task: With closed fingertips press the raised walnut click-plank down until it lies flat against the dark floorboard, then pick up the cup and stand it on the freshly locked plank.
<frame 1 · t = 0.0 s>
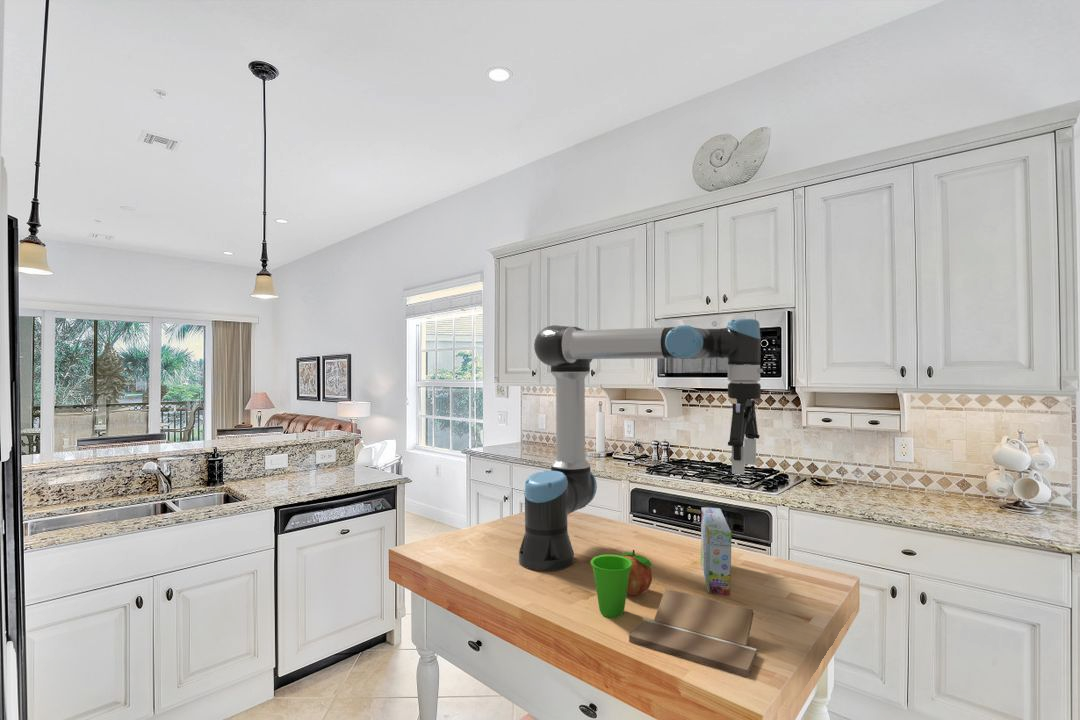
hand: (744, 468, 131), 28 cm above the table, fingers open, 13 cm apart
plank: (702, 617, 108), point 3 cm above the table, hinge at 30.0°
floorboard: (691, 648, 102), on the table
snack box: (714, 578, 135), on the table
cup: (611, 613, 116), on the table
fruit: (633, 593, 126), on the table
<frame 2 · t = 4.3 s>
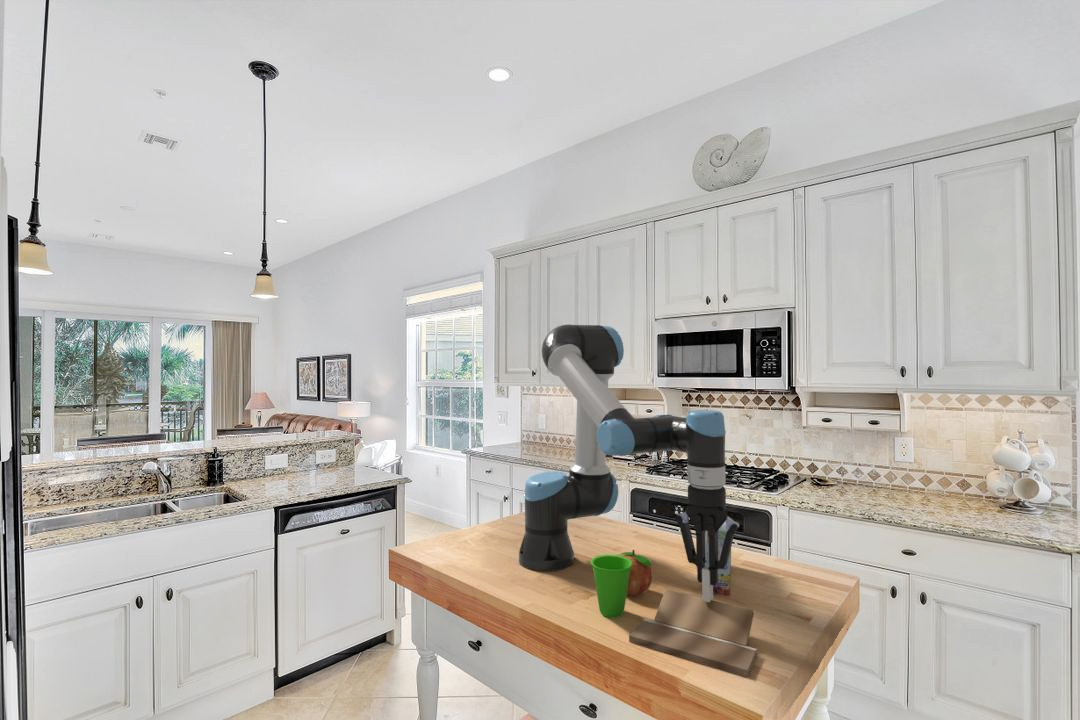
hand: (707, 598, 111), 5 cm above the table, fingers closed
plank: (702, 617, 108), point 3 cm above the table, hinge at 29.2°, touching gripper
everything else where it was.
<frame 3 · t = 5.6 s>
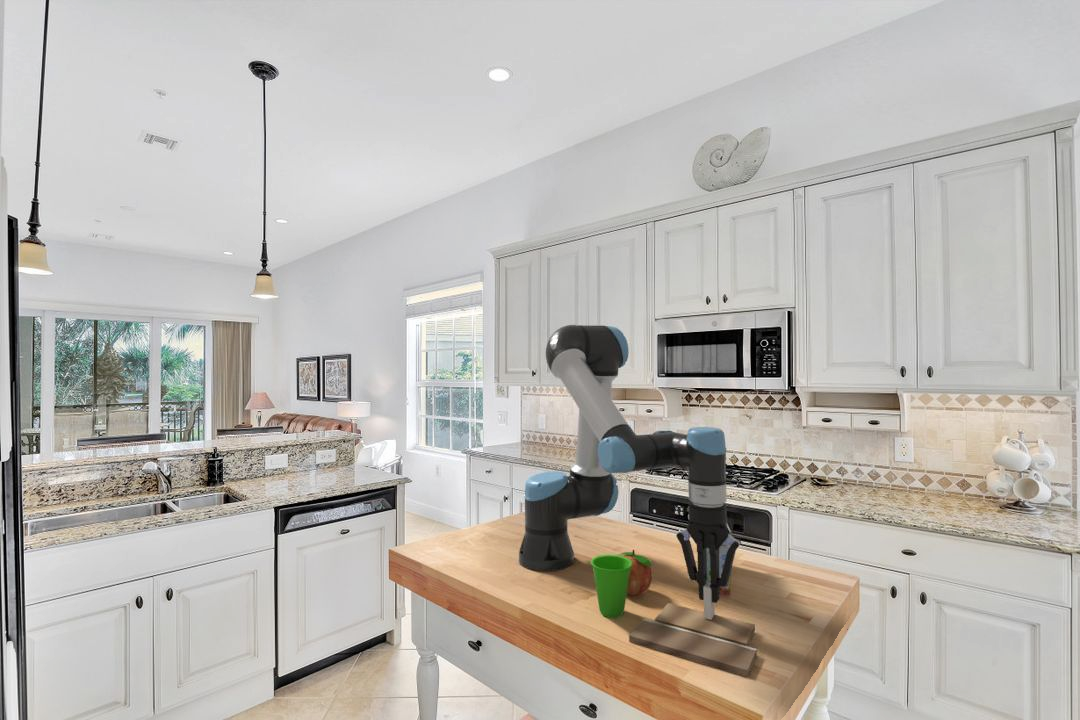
hand: (709, 616, 111), 2 cm above the table, fingers closed
plank: (704, 624, 109), point 1 cm above the table, hinge at 1.7°, touching gripper
everything else where it was.
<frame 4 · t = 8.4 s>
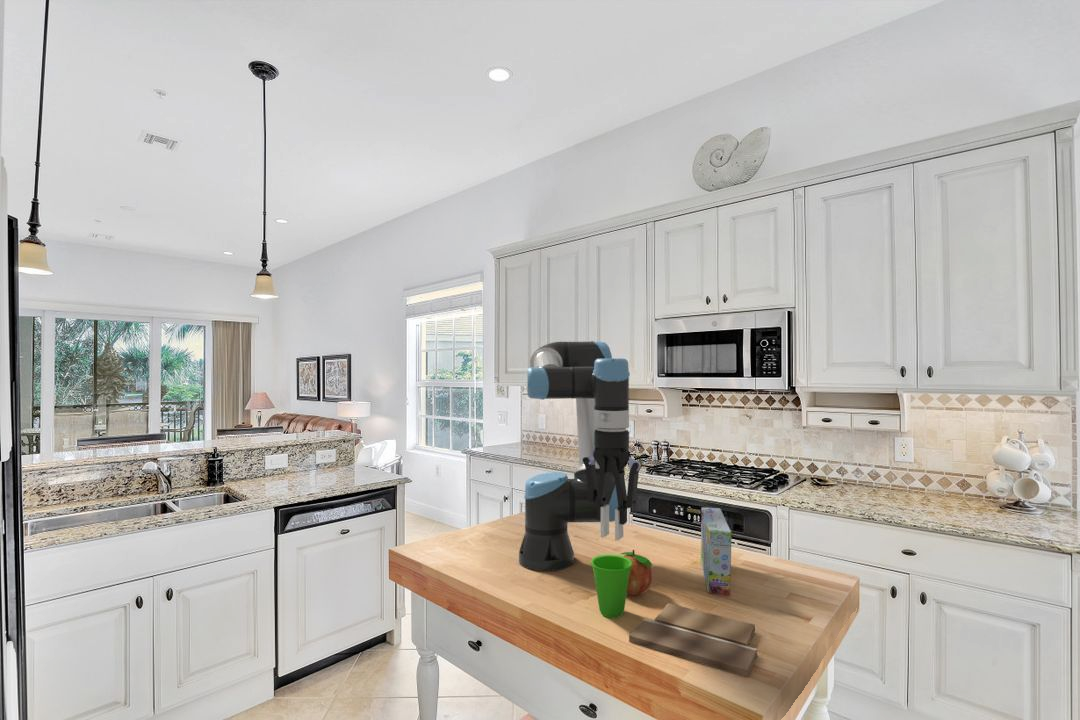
hand: (612, 536, 116), 16 cm above the table, fingers open, 3 cm apart
plank: (704, 625, 109), point 1 cm above the table, hinge at 1.5°
everything else where it was.
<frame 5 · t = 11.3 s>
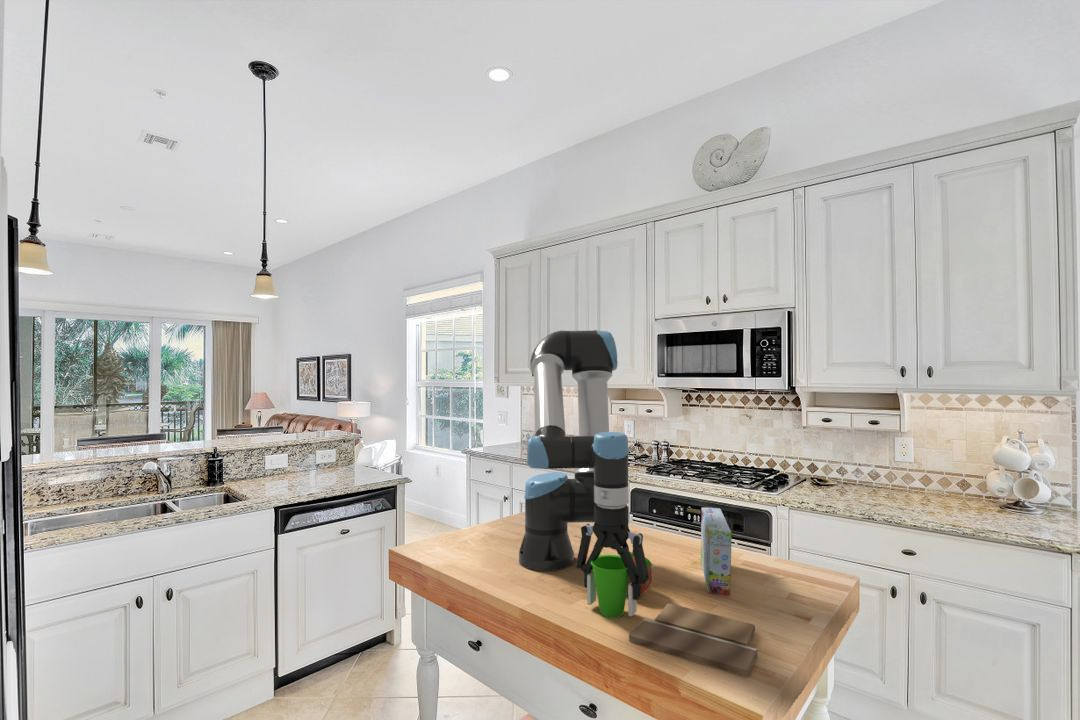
hand: (611, 607, 116), 1 cm above the table, fingers closed on cup, 9 cm apart
cup: (611, 613, 116), on the table, touching gripper
everything else where it was.
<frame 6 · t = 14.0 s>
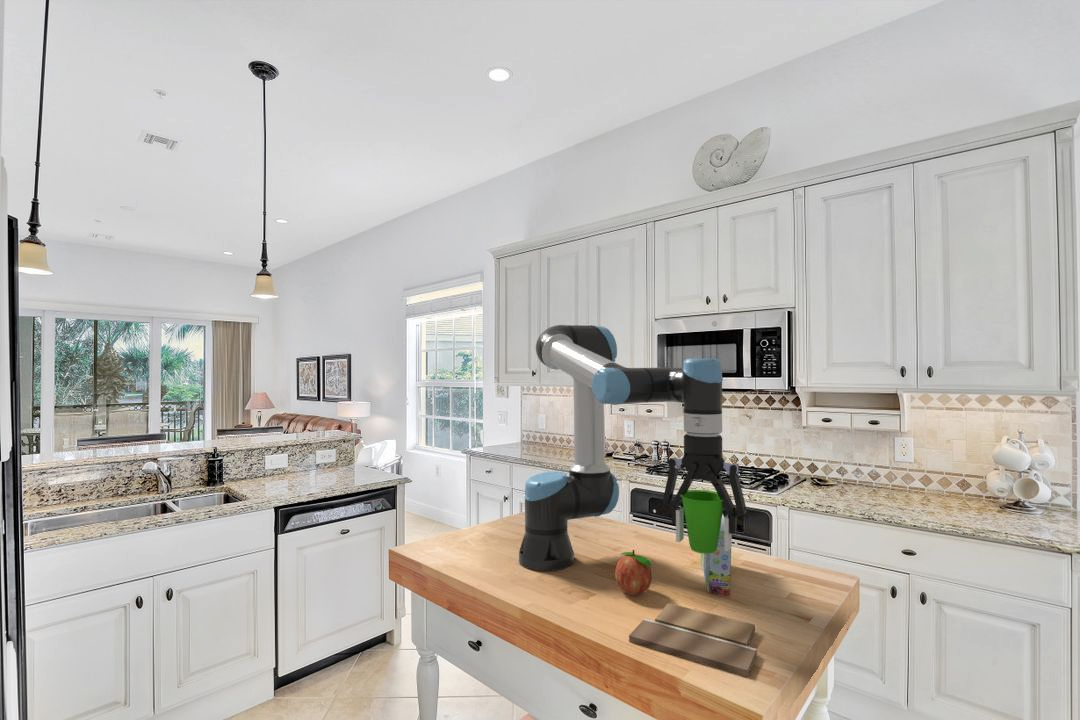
hand: (703, 544, 109), 17 cm above the table, fingers closed on cup, 9 cm apart
cup: (703, 550, 109), point 16 cm above the table, touching gripper
everything else where it was.
when the fingers open (3 cm above the table, at t = 17.0 s): cup drops 1 cm, resting on plank.
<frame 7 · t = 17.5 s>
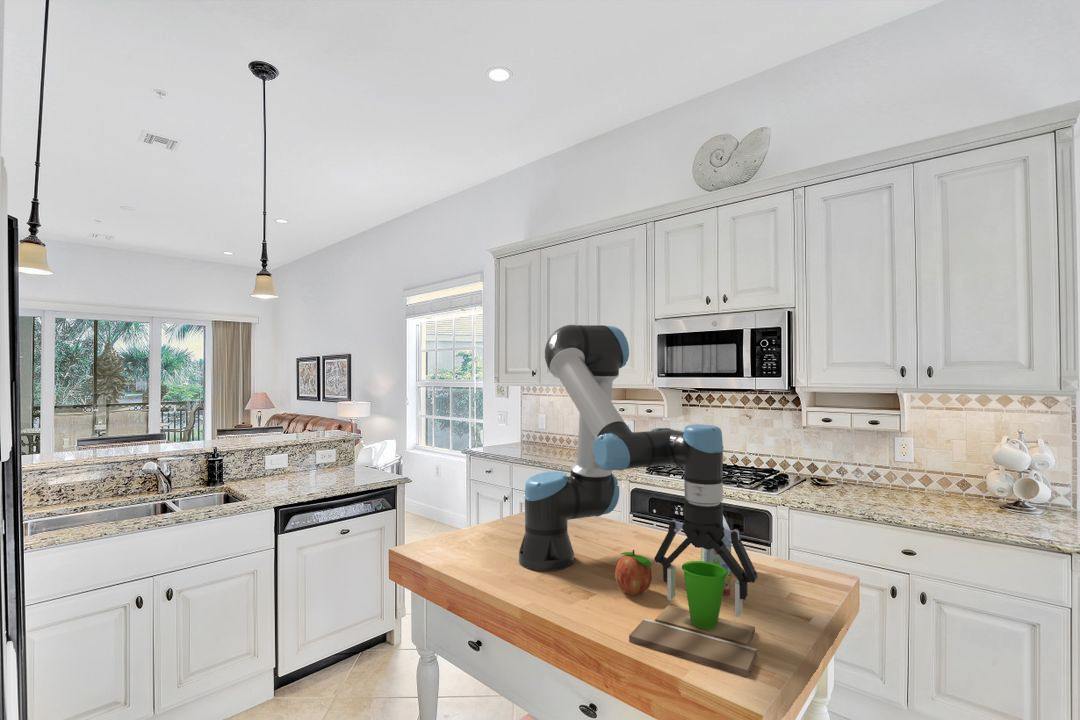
hand: (703, 605, 109), 5 cm above the table, fingers open, 13 cm apart
plank: (704, 626, 109), point 1 cm above the table, hinge at -1.7°, touching cup
cup: (703, 623, 109), point 1 cm above the table, touching plank
everything else where it was.
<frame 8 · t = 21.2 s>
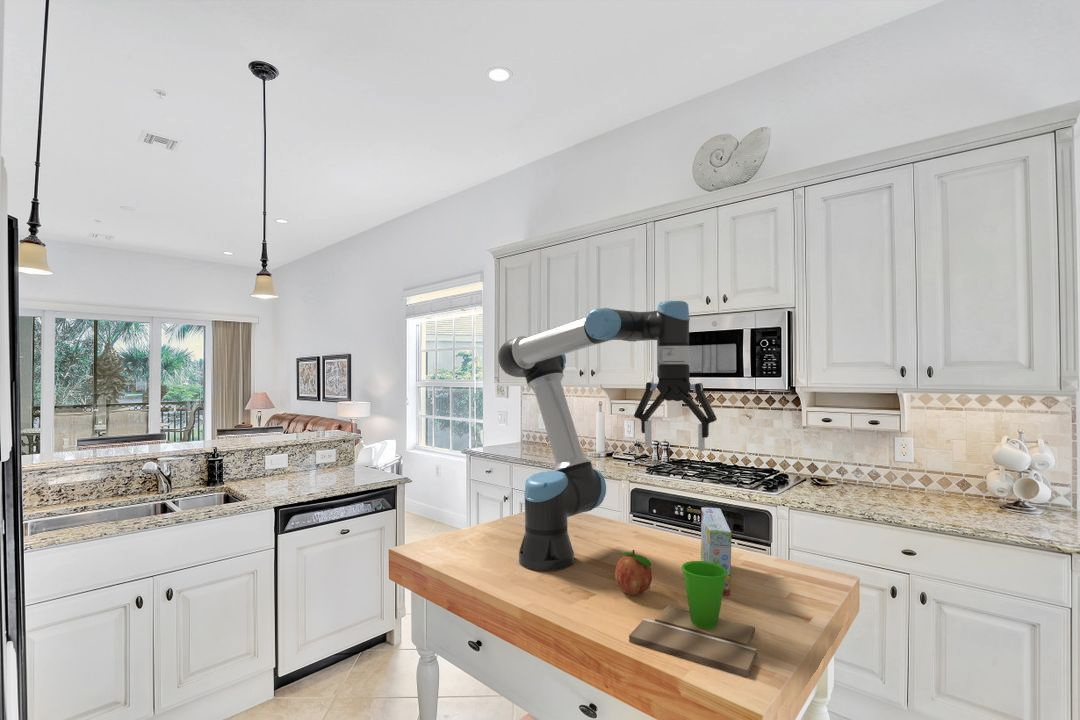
hand: (674, 448, 133), 33 cm above the table, fingers open, 13 cm apart
nothing on the table moved.
at the end: plank at -2° (first picture: +30°); cup inside the target area (0.1 cm from its centre), point 1.0 cm above the table; cup tilted 2° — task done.
